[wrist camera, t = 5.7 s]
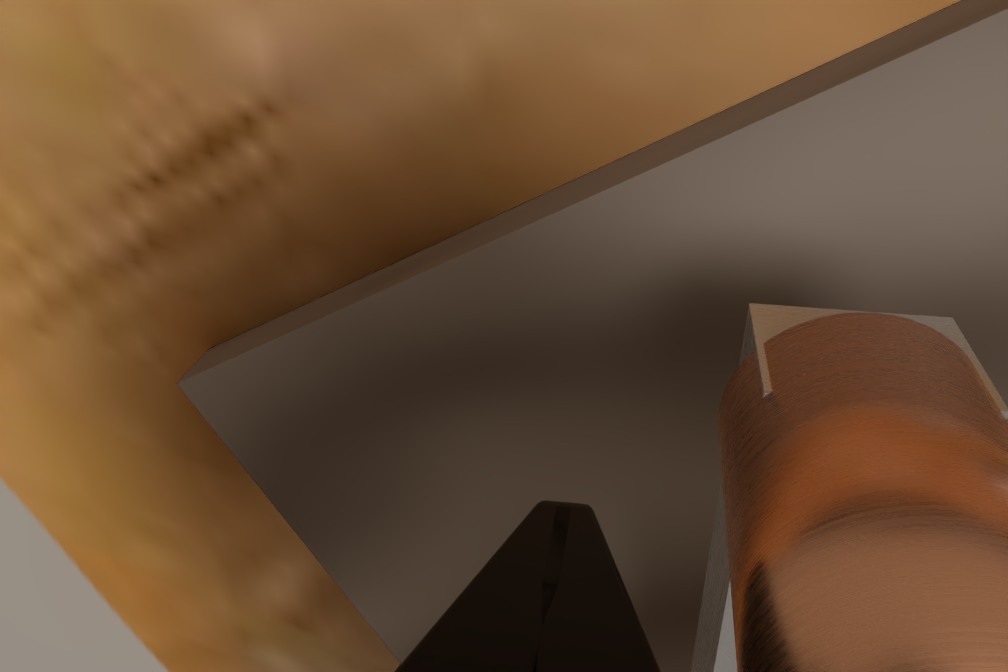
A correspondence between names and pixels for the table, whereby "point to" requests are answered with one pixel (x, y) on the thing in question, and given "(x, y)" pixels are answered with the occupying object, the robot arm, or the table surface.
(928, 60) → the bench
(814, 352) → the lever
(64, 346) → the table surface
